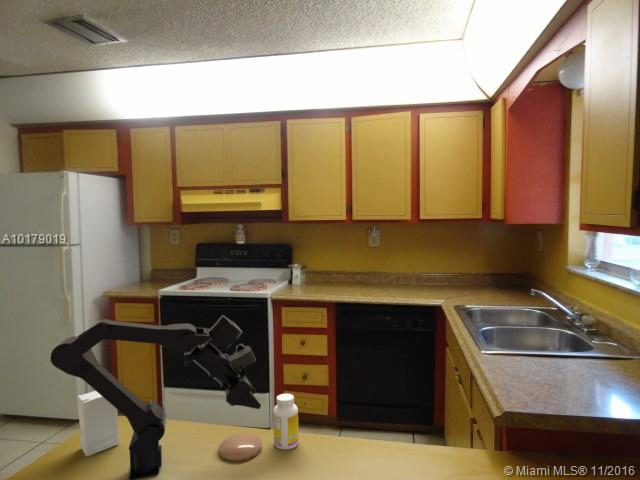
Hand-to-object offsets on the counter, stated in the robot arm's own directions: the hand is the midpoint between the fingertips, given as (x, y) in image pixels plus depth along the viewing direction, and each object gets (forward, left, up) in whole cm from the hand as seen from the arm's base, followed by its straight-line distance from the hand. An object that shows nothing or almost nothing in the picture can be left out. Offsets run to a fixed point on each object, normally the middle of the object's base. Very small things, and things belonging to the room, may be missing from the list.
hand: (257, 399), depth 104 cm
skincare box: (-40, +15, -13) cm, 45 cm away
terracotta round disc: (-4, +1, -13) cm, 14 cm away
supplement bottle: (+8, 0, -13) cm, 15 cm away
